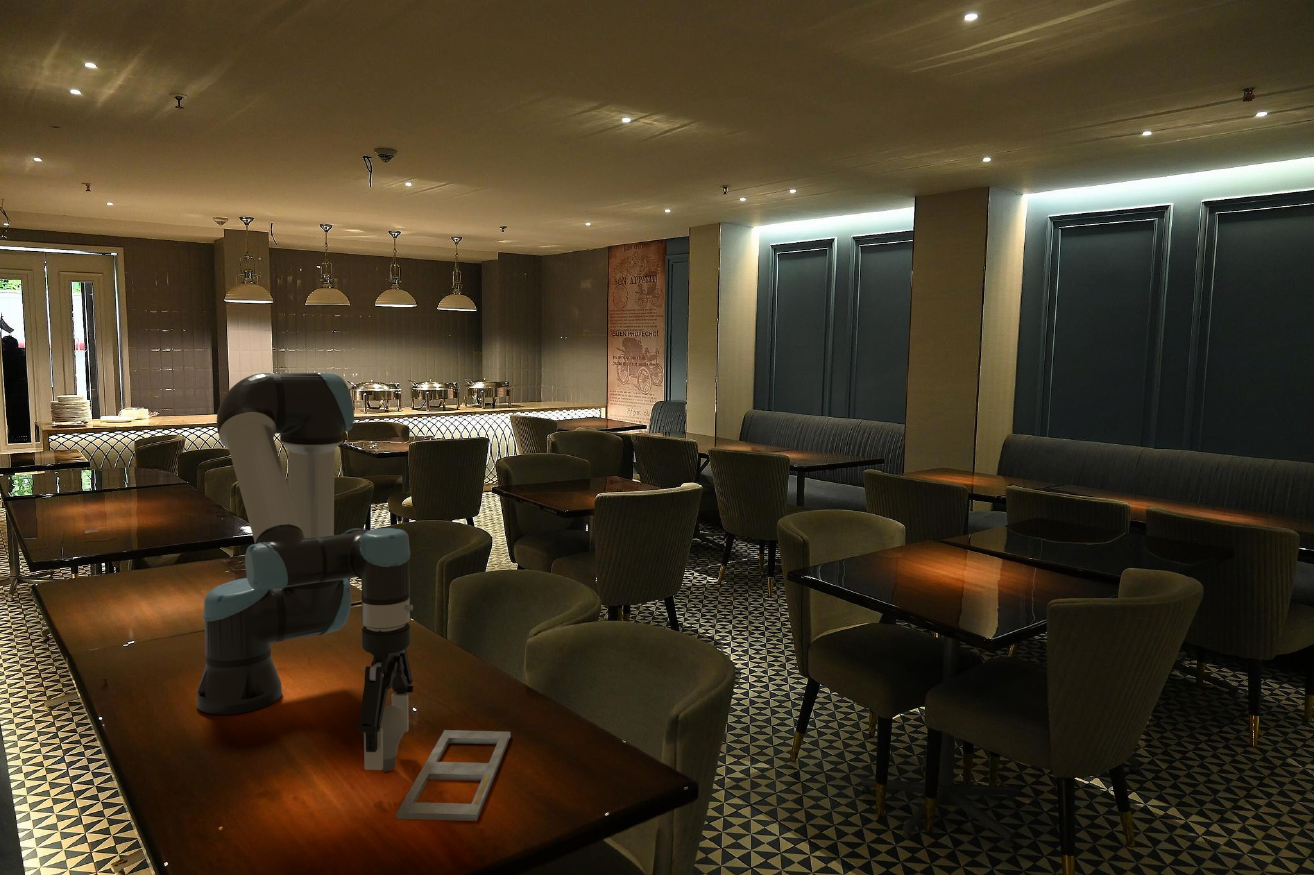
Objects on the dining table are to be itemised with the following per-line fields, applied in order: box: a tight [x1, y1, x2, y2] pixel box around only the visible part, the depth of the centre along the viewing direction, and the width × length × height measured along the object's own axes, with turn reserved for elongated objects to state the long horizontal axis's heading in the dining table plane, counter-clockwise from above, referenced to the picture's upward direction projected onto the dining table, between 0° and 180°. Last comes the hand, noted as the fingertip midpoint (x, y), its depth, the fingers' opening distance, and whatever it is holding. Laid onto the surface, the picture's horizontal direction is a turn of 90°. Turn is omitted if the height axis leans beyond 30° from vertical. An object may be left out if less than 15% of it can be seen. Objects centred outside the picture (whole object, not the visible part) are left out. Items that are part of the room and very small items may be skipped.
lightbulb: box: [380, 705, 407, 772], centre depth 142 cm, size 6×6×11 cm
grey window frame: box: [396, 729, 511, 822], centre depth 142 cm, size 12×28×1 cm, turn 0°
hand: (387, 749), depth 142 cm, fingers open, 13 cm apart
